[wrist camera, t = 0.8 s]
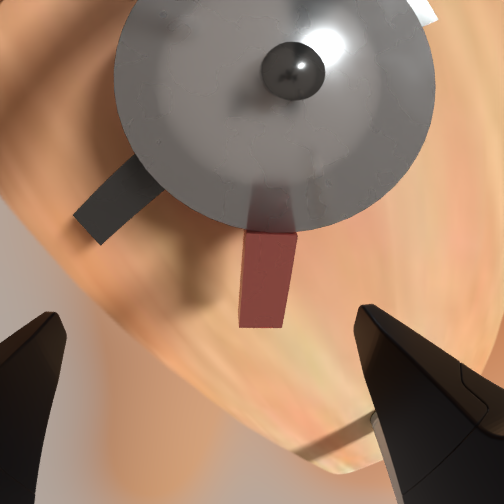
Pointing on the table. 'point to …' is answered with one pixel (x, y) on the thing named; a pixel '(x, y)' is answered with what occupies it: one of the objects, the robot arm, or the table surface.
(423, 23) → the pot
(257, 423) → the table surface
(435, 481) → the robot arm
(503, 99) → the table surface
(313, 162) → the lid
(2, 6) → the table surface
